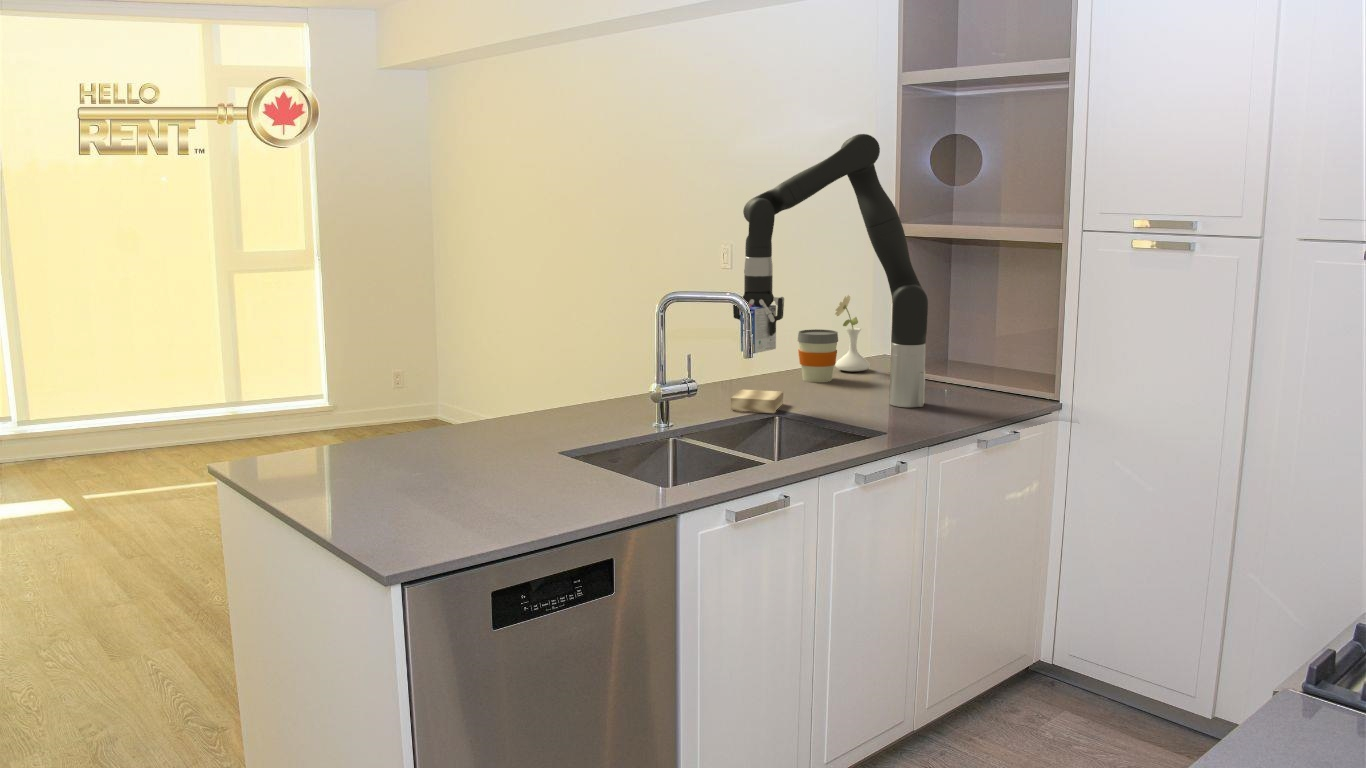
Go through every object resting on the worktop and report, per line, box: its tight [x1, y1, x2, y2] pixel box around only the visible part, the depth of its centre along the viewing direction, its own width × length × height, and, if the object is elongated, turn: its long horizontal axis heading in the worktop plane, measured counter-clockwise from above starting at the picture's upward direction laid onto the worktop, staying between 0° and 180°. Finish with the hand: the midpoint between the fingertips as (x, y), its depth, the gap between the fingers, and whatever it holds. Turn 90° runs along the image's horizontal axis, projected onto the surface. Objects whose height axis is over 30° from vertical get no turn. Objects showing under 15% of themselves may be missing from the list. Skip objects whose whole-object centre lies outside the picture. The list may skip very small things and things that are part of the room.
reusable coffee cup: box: [797, 328, 839, 383], centre depth 327 cm, size 13×13×15 cm
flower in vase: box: [834, 294, 871, 372], centre depth 341 cm, size 13×11×25 cm
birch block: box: [730, 388, 784, 414], centre depth 288 cm, size 12×12×4 cm
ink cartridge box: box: [740, 304, 777, 354], centre depth 284 cm, size 10×6×14 cm, turn 139°
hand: (758, 334), depth 285 cm, fingers closed on ink cartridge box, 7 cm apart
